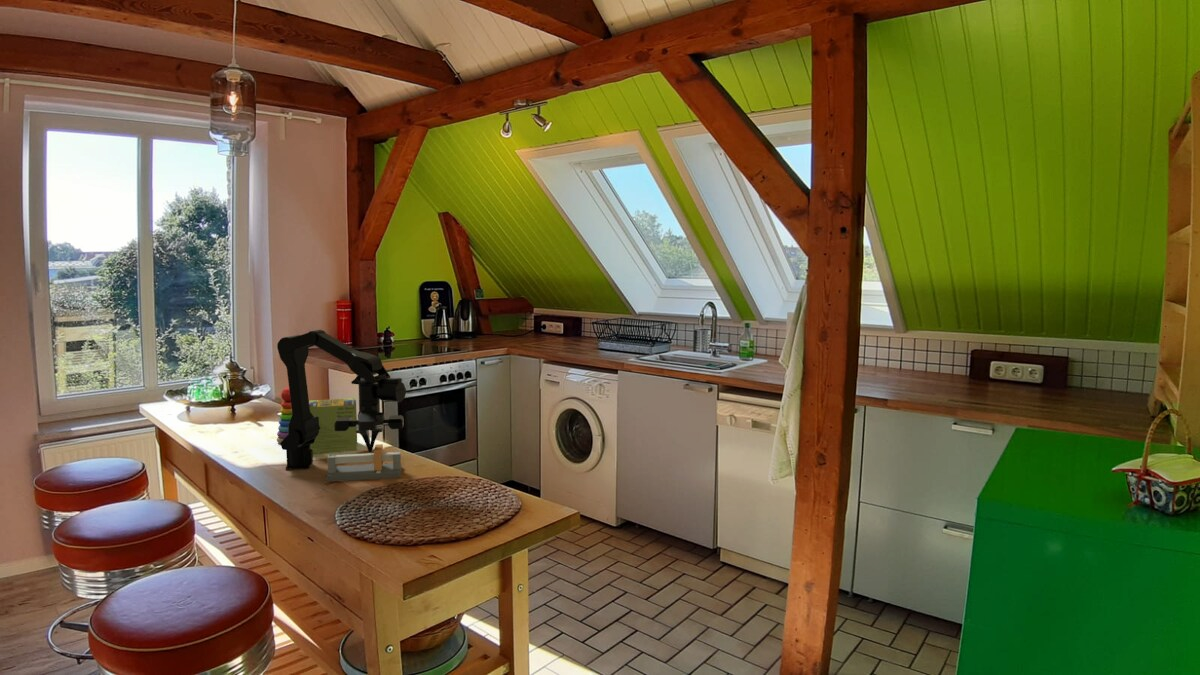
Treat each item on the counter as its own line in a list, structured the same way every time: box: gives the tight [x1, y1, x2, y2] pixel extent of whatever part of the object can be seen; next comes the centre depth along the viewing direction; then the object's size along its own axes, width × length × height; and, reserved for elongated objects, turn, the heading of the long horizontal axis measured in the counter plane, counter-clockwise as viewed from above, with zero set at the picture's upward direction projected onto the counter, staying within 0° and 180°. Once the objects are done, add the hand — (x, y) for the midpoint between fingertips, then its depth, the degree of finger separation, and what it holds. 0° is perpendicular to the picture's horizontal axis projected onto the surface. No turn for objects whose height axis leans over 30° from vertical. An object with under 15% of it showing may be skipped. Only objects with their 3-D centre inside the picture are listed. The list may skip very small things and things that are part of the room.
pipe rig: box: [326, 450, 402, 482], centre depth 198 cm, size 20×9×6 cm, turn 104°
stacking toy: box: [276, 386, 292, 444], centre depth 228 cm, size 8×8×19 cm
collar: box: [373, 443, 384, 471], centre depth 199 cm, size 2×6×6 cm, turn 13°
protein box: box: [309, 397, 358, 455], centre depth 222 cm, size 10×15×16 cm
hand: (370, 451), depth 198 cm, fingers closed
